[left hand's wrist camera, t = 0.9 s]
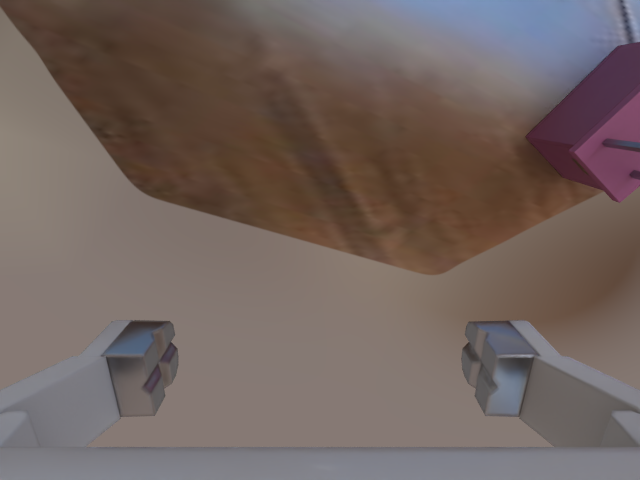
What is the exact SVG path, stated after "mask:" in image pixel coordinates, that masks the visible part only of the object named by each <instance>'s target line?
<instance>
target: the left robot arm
mask: <svg viewBox="0 0 640 480" xmlns="http://www.w3.org/2000/svg"><path fill="white" fill-rule="evenodd" d="M174 336H175V332H174V327H173V324H172V323H171V322H170V321H140V320H135V321H133V320H117V321H112V322H111V323H110V324H109V325H108V326H107V327H106V328H105V329H104V330H103V331H102V332H101V333H100V334H99V335H98V336H97V338H96V339H95V340H94V341H93V342H92V343H91V344H90V345H89V346H88V347H87V348H86V349H85V350H84V351H83V352H82V353H81V354H80V355H79V356H72V357H70V358H68V359H66V360H63V361H61V362H59V363H57V364H55V365H53V366H51V367H49V368H46V369H44V370H42V371H40V372H38V373H36V374H34V375H31V376H29V377H27V378H25V379H23V380H21V381H18V382H16V383H14V384H12V385H10V386H8V387H6V388H4V389H1V390H0V480H640V390H638V389H636V388H634V387H632V386H630V385H628V384H626V383H623V382H621V381H619V380H617V379H615V378H613V377H611V376H608V375H606V374H604V373H602V372H600V371H598V370H596V369H594V368H591V367H589V366H587V365H585V364H583V363H581V362H579V361H576V360H574V359H572V358H570V357H568V356H561V355H560V354H559V353H558V352H557V351H556V350H555V349H554V348H553V347H552V346H551V345H550V344H549V343H548V342H547V341H546V340H545V339H544V337H542V335H541V334H540V333H539V332H538V331H537V330H536V329H535V328H534V327H533V326H532V325H531V324H530V323H529V322H527V321H525V320H511V321H478V322H468V324H467V326H466V331H465V336H466V337H467V339H468V341H469V343H468V344H467V345H466V346H465V347H464V348H463V350H462V358H461V359H462V370H463V373H464V376H465V378H466V380H467V382H468V384H470V385H471V386H473V387H474V388H475V389H476V392H475V397H476V399H477V401H478V403H479V405H480V407H481V409H482V411H483V412H484V414H485V416H508V417H520V419H521V420H522V421H523V422H524V423H526V424H527V425H528V426H529V427H531V428H532V429H533V430H534V431H536V432H537V433H538V434H539V435H541V436H542V437H543V438H544V439H545V440H547V441H548V442H549V443H550V444H552V445H553V446H554V447H86V446H87V445H88V444H90V443H91V442H92V441H93V440H95V439H96V438H97V437H98V436H100V435H101V434H102V433H103V432H105V431H106V430H107V429H108V428H109V427H111V426H112V425H113V424H114V423H116V422H117V421H118V420H119V419H120V417H131V416H155V414H156V413H157V411H158V409H159V407H160V405H161V403H162V401H163V399H164V397H165V391H164V388H166V387H167V386H169V385H170V384H172V382H173V380H174V378H175V376H176V373H177V368H178V350H177V348H176V347H175V346H174V345H173V344H172V343H171V341H172V339H173V337H174Z"/></svg>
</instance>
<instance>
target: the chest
mask: <svg viewBox="0 0 640 480" xmlns="http://www.w3.org/2000/svg"><path fill="white" fill-rule="evenodd" d="M639 84H640V42H637V43H632V44H626V45H621V46H618V47H617V48H616V49H615V50H613V51H612V52H611V53H610V54H609V55H608V56H607V57H606V58H605V59H604V60H603V61H602V62H601V63H600V64H599V65H598V66H597V67H596V68H595V69H594V70H593V71H592V72H591V73H590V74H589V75H588V76H587V77H586V78H585V79H584V80H583V81H582V82H581V83H580V84H579V85H578V86H577V87H576V88H575V89H574V90H573V91H572V92H571V93H570V94H569V95H567V96H566V97H565V98H564V99H563V100H562V101H561V102H560V103H559V104H558V105H557V106H556V107H555V108H554V109H553V110H552V111H551V112H550V113H549V114H548V115H547V116H546V117H545V118H544V119H543V120H542V121H541V122H540V123H539V124H538V125H537V126H536V127H535V128H534V129H533V130H532V131H531V132H530V133H529V134H528V135H527V136H526V138H527V139H528V140H529V141H530V142H531V144H532V145H533V146H534V147H535V148H536V149H537V150H538V151H539V152H540V153H541V154H542V155H543V156H544V157H545V158H546V160H547V161H548V162H549V163H550V164H551V165H552V166H553V167H554V168H555V169H556V170H557V171H558V172H559V173H560V175H561V176H562V177H563V178H566V179H569V180H572V181H576V182H579V183H582V184H585V185H588V186H591V187H595V188H598V189H601V190H603V189H602V188H601V187H600V186H599V185H598V184H597V183H596V181H595V180H594V179H593V178H592V177H591V176H590V175H589V174H588V173H587V172H586V170H585V169H584V168H583V167H582V166H581V165H580V164H579V163H578V162H577V160H576V159H575V158H574V157H573V156H572V155H571V154H570V153H569V152H568V150H569V149H571V148H572V147H573V146H574V145H575V144H576V143H577V142H578V141H579V140H580V139H581V138H582V137H583V136H585V135H586V134H587V133H588V132H589V131H590V130H591V129H592V128H593V127H594V126H595V125H596V124H597V123H598V122H600V121H601V120H602V119H603V118H604V117H605V116H606V115H607V114H608V113H609V112H610V111H611V110H612V109H614V108H615V107H616V106H617V105H618V104H619V103H620V102H621V101H622V100H623V99H624V98H625V97H626V96H628V95H629V94H630V93H631V92H632V91H633V90H634V89H635V88H636V87H637V86H638V85H639Z"/></svg>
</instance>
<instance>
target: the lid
mask: <svg viewBox="0 0 640 480" xmlns="http://www.w3.org/2000/svg"><path fill="white" fill-rule="evenodd" d="M568 152H569V153H570V154H571V155H572V156H573V157H574V158H575V159H576V160H577V162H578V163H579V164H580V165H581V166H582V167H583V168H584V169H585V170H586V172H587V173H588V174H589V175H590V176H591V177H592V178H593V179H594V180H595V181H596V183H597V184H598V185H599V186H600V187H601V188H602V189H603V190H604V191H605V192H606V194H607V195H608V196H609V197H610V198H611V199H612V200H614V201H616V202H621V201H622V200H624V199H625V198H626V197H627V196H628V195H630V194H631V193H632V192H633V191H634V190H635V189H637V188H638V187H639V186H640V84H639V85H638V86H637V87H636V88H635V89H634V90H633V91H632V92H631V93H630V94H629V95H628V96H626V97H625V98H624V99H623V100H622V101H621V102H620V103H619V104H618V105H617V106H616V107H615V108H614V109H612V110H611V111H610V112H609V113H608V114H607V115H606V116H605V117H604V118H603V119H602V120H601V121H600V122H598V123H597V124H596V125H595V126H594V127H593V128H592V129H591V130H590V131H589V132H588V133H587V134H586V135H585V136H583V137H582V138H581V139H580V140H579V141H578V142H577V143H576V144H575V145H574V146H573V147H572V148H571V149H569V150H568Z"/></svg>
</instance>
